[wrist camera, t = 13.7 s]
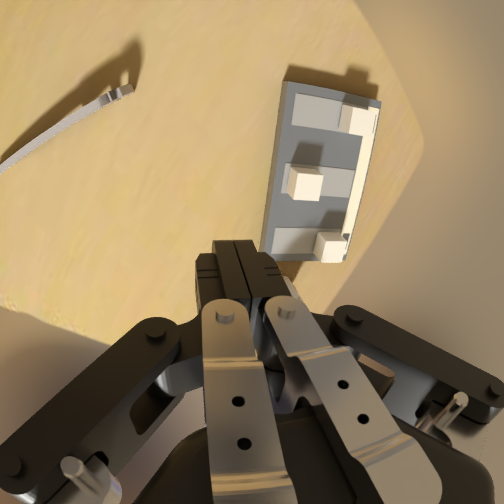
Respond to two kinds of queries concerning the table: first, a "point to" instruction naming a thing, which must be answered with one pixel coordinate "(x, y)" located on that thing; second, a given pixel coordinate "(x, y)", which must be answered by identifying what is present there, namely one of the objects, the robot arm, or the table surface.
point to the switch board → (324, 161)
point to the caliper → (68, 123)
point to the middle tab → (304, 184)
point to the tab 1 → (329, 247)
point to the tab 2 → (357, 121)
